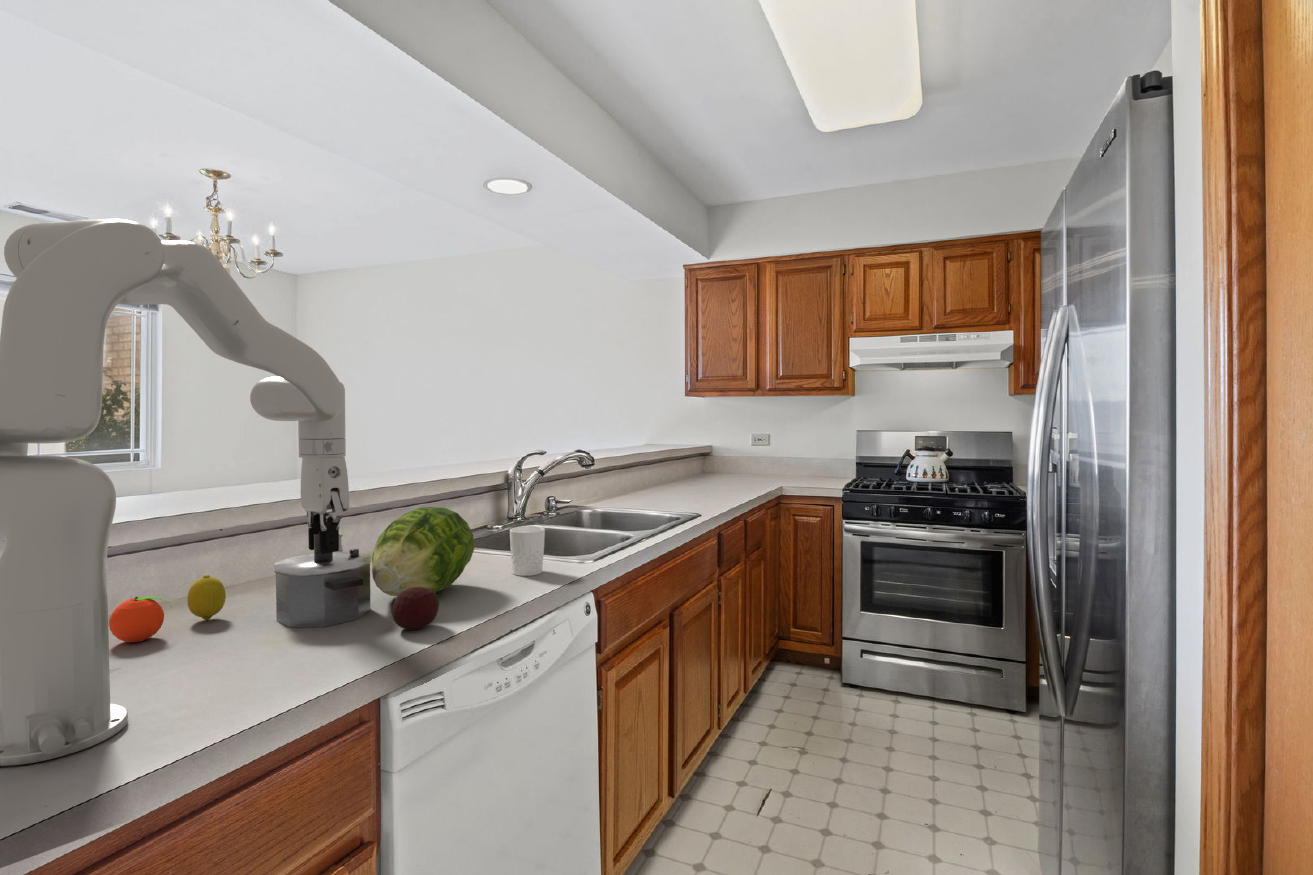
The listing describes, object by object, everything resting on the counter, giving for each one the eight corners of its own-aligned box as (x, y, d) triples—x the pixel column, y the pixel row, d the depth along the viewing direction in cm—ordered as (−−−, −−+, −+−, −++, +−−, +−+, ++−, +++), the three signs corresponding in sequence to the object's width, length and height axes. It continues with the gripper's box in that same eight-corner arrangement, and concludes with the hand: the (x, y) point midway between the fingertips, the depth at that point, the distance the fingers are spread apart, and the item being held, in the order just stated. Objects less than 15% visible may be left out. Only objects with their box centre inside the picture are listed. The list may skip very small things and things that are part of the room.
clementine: (170, 629, 111) (169, 587, 110) (175, 640, 106) (174, 596, 105) (108, 640, 105) (107, 596, 105) (110, 652, 100) (109, 605, 100)
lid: (386, 564, 119) (386, 532, 119) (293, 581, 108) (293, 545, 107) (348, 552, 130) (347, 523, 129) (260, 565, 118) (259, 533, 118)
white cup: (552, 571, 152) (551, 528, 152) (528, 578, 146) (528, 533, 145) (526, 567, 156) (526, 525, 156) (502, 573, 150) (502, 530, 149)
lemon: (206, 626, 112) (205, 579, 112) (179, 623, 113) (178, 577, 113) (233, 616, 118) (232, 572, 117) (207, 614, 119) (206, 570, 119)
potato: (447, 624, 114) (447, 583, 114) (417, 638, 107) (416, 595, 107) (413, 619, 117) (413, 579, 117) (381, 632, 110) (380, 591, 109)
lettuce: (339, 609, 123) (346, 524, 120) (406, 562, 146) (413, 489, 142) (426, 632, 121) (435, 546, 117) (480, 580, 144) (489, 507, 140)
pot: (388, 616, 118) (387, 566, 118) (305, 636, 107) (304, 581, 107) (340, 596, 131) (340, 551, 130) (262, 612, 120) (261, 563, 120)
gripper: (364, 449, 115) (365, 554, 116) (324, 446, 126) (325, 541, 127) (320, 451, 110) (321, 561, 110) (281, 447, 121) (283, 547, 121)
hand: (323, 549), depth 119 cm, fingers open, 3 cm apart
